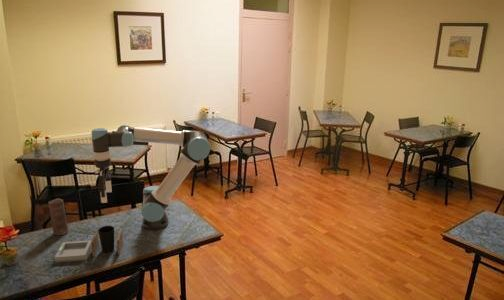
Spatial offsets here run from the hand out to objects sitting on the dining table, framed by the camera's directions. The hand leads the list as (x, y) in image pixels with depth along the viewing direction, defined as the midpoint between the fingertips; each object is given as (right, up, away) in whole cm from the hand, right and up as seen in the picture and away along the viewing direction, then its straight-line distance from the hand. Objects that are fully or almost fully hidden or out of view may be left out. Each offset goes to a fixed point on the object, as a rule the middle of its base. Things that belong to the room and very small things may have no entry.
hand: (106, 197), depth 196 cm
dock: (-13, -28, -8) cm, 32 cm away
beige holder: (+2, -27, -4) cm, 27 cm away
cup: (+2, -27, -4) cm, 27 cm away
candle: (-30, -22, +11) cm, 39 cm away
